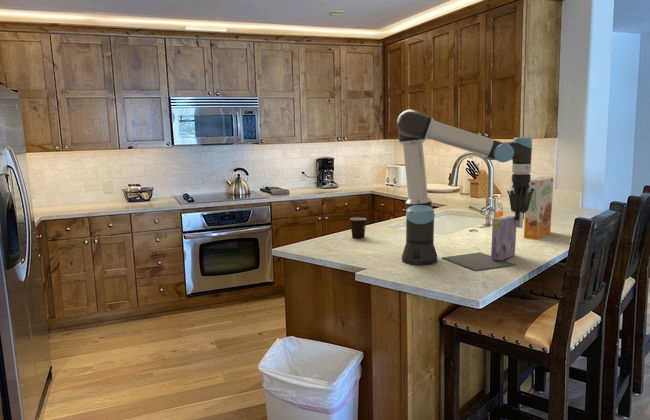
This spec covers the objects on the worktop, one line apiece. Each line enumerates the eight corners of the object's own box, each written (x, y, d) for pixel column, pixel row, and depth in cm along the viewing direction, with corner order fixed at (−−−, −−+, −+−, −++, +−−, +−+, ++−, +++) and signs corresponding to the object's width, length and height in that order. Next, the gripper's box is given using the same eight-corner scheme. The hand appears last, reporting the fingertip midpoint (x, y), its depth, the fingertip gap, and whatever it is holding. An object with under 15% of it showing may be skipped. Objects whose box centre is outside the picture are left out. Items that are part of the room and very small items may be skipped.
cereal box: (536, 239, 254) (539, 180, 249) (523, 237, 258) (526, 179, 253) (550, 232, 271) (553, 176, 266) (538, 230, 275) (541, 176, 270)
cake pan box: (505, 253, 227) (508, 214, 225) (516, 254, 224) (519, 215, 222) (489, 259, 212) (492, 218, 210) (501, 261, 209) (503, 220, 207)
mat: (475, 271, 199) (475, 269, 199) (442, 258, 219) (442, 257, 219) (515, 265, 207) (515, 263, 207) (479, 253, 227) (479, 252, 227)
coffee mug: (358, 240, 259) (358, 221, 257) (346, 237, 265) (346, 218, 264) (373, 236, 266) (373, 218, 265) (362, 234, 273) (362, 216, 271)
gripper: (515, 174, 209) (513, 230, 213) (539, 173, 214) (536, 227, 218) (503, 173, 216) (501, 227, 220) (526, 172, 221) (524, 224, 225)
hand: (518, 227), depth 219 cm, fingers closed
